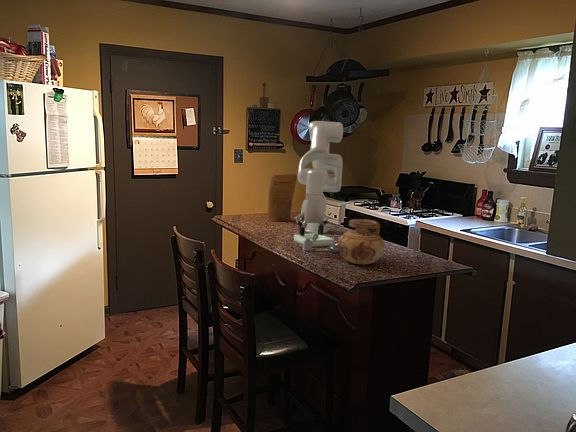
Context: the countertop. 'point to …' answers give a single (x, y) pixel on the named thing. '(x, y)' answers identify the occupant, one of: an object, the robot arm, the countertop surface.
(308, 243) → the lighter
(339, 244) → the clay pot
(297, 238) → the tray
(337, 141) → the robot arm
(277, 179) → the pancake mix bag
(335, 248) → the pot lid
